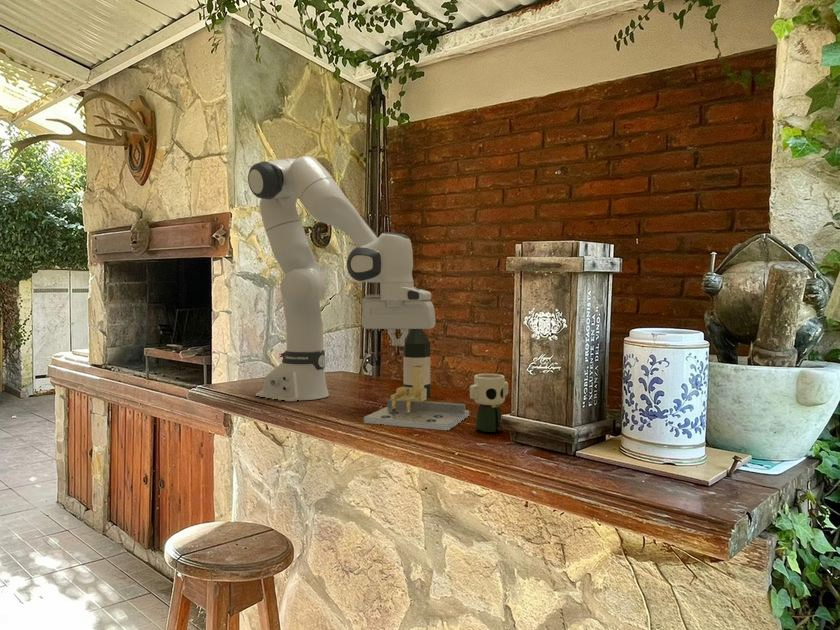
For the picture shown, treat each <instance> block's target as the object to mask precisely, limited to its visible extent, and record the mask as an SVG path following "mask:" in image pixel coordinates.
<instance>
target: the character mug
mask: <svg viewBox="0 0 840 630" xmlns="http://www.w3.org/2000/svg"><path fill="white" fill-rule="evenodd" d="M508 395H509V383H508V381H506V378H505V375H503V374H498V373H479V374H478V373H477V374H475V375H474V377H473V384H472V385H470V386H469V399H471V400H474V403H476V404H479V406H478V409H477V413H476V421H475V422H476V423H475V429H478V430H480V431H482V432H484V433H485V432H487V433H494V432H496V431H497V429H498V431H499V432H500V431H502V430H503V426H502V427H501V422H500V420H501V417H502V411H501V407H500V405H501V404H503V403H504V402H505V400H506V396H508Z"/></svg>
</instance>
